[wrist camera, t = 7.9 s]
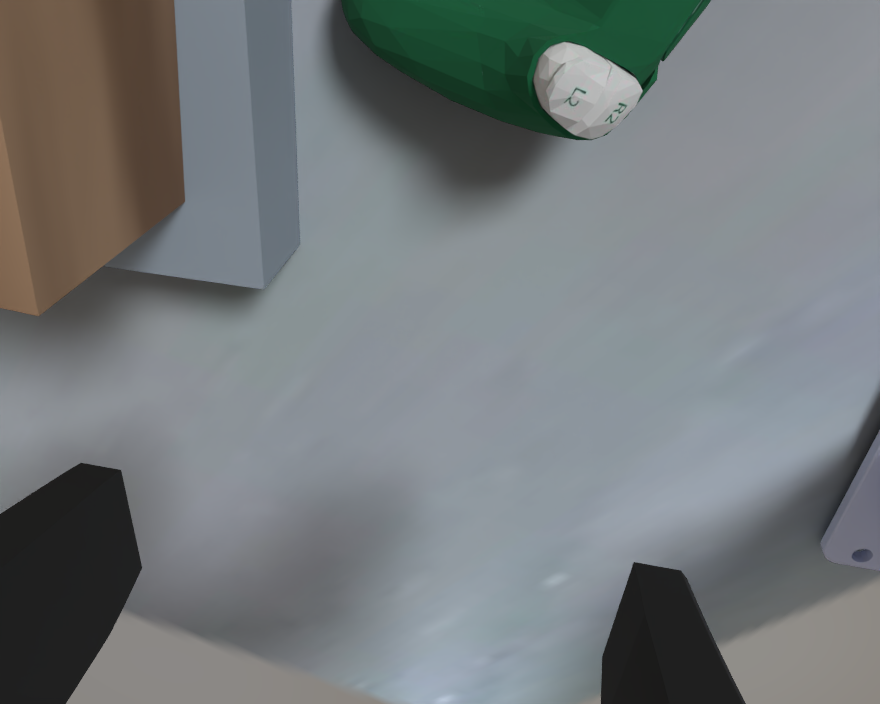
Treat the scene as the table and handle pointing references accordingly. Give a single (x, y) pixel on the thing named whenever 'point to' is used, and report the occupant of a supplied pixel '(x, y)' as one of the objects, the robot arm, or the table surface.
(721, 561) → the table surface
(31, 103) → the walnut block
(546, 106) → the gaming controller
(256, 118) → the slate block
